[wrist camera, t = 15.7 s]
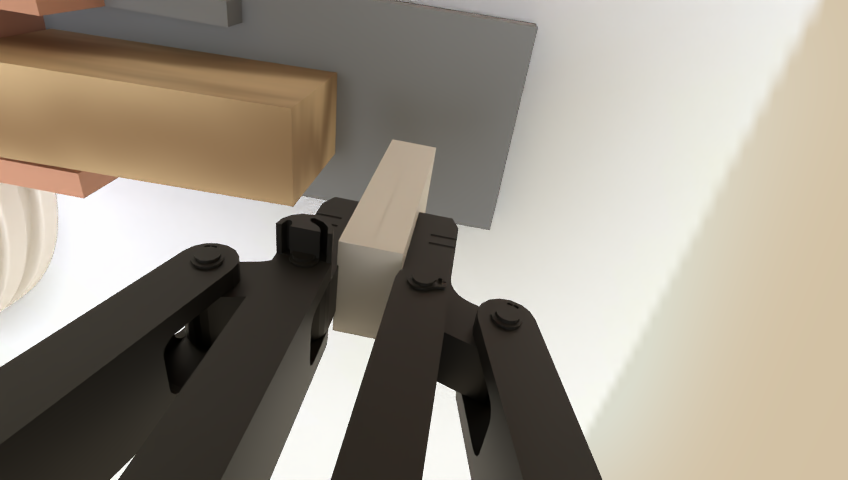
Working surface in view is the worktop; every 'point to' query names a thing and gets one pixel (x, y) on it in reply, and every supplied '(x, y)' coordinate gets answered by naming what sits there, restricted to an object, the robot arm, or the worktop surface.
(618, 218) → the worktop surface
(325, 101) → the oak slat
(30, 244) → the plate stack
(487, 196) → the rail
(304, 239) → the robot arm
